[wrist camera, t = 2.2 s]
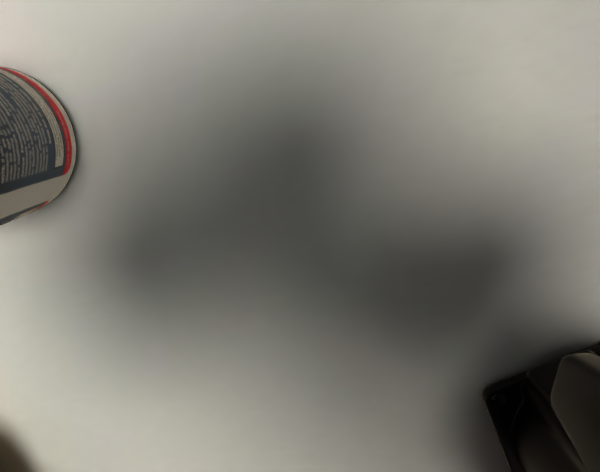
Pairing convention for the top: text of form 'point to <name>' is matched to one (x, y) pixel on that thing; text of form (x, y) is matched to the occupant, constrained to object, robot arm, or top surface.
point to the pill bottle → (31, 145)
